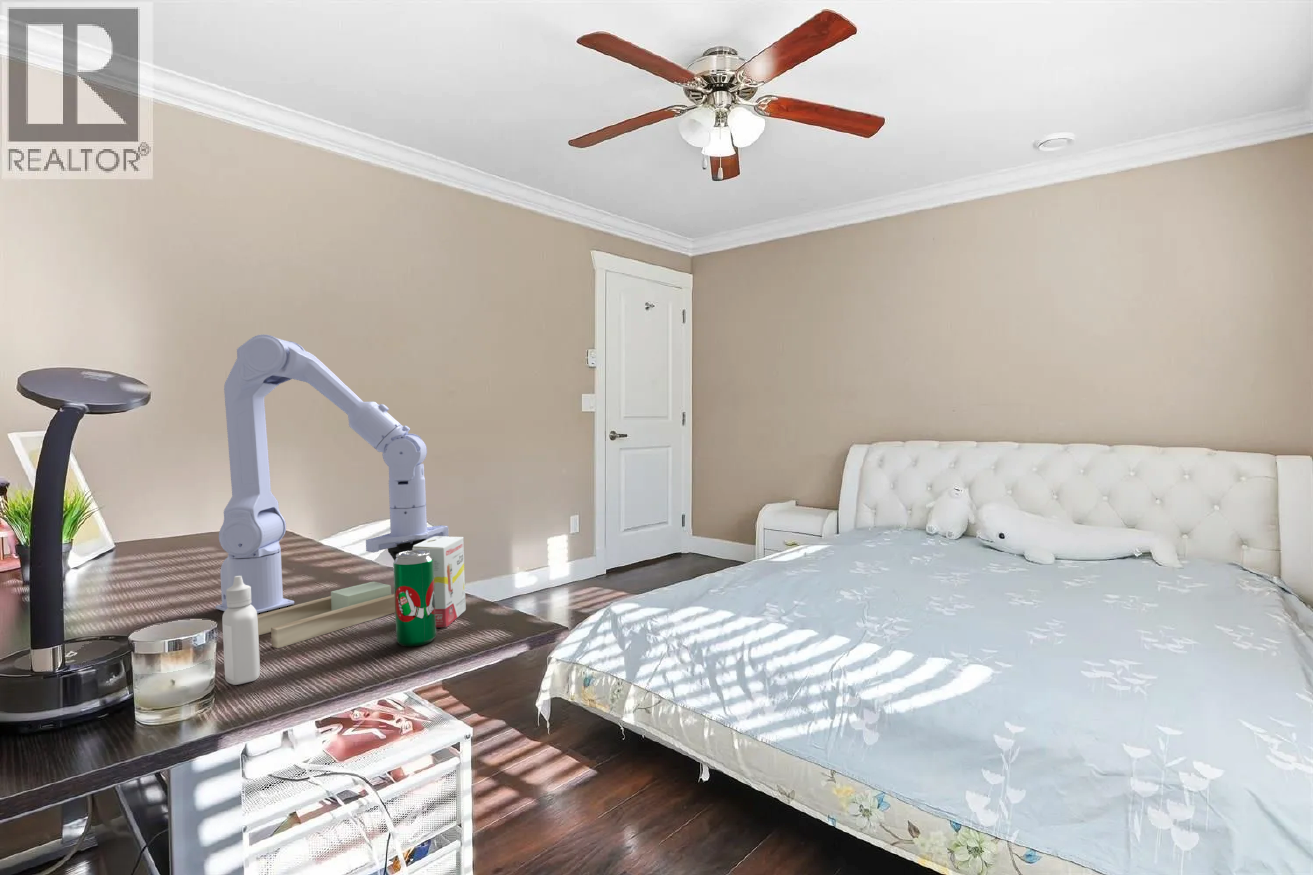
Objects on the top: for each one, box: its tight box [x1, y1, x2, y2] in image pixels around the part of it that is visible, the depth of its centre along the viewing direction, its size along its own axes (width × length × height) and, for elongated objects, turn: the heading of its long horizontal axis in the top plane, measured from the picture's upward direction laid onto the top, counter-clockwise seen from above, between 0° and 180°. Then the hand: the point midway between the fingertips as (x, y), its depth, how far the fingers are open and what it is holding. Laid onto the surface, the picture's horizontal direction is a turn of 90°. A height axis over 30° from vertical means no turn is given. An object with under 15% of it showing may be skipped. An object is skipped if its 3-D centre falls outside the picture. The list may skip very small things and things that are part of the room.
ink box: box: [412, 536, 467, 628], centre depth 95 cm, size 9×5×12 cm, turn 177°
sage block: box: [330, 581, 392, 611], centre depth 99 cm, size 5×7×4 cm
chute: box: [257, 593, 395, 649], centre depth 95 cm, size 10×20×2 cm, turn 147°
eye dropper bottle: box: [221, 576, 261, 686], centre depth 75 cm, size 4×6×12 cm
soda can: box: [392, 550, 437, 648], centre depth 86 cm, size 5×5×12 cm
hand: (411, 586), depth 107 cm, fingers closed
